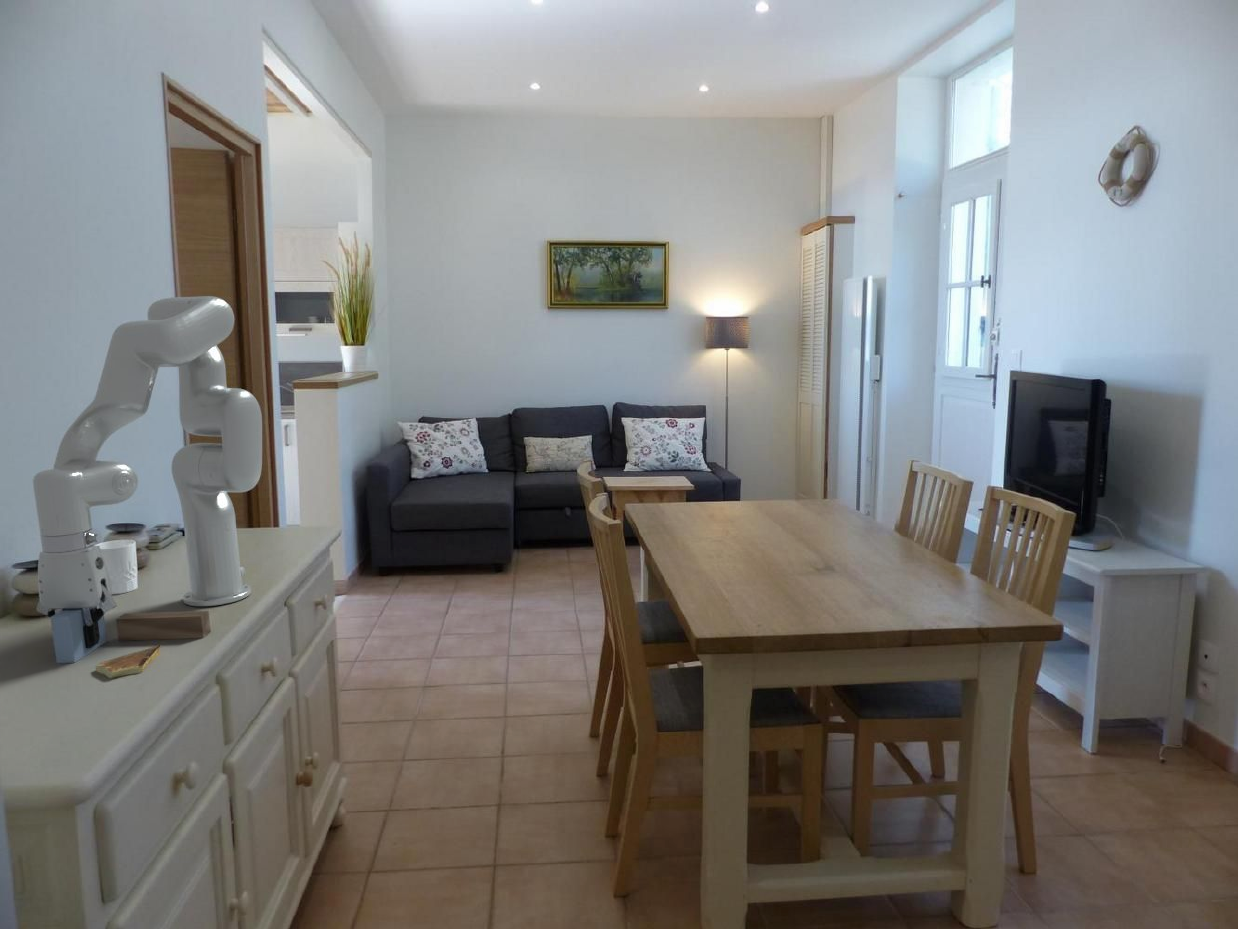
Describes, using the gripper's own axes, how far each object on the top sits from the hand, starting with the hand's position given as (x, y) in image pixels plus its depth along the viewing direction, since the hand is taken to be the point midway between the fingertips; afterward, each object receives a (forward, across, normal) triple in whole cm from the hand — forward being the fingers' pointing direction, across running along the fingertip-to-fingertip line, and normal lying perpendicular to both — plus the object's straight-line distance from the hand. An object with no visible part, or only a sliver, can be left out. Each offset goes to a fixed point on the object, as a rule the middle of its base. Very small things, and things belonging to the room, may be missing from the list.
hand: (81, 645), depth 157 cm
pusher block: (+1, 0, 0) cm, 1 cm away
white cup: (+1, +13, -37) cm, 39 cm away
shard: (+2, -11, +7) cm, 13 cm away
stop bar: (+1, -11, -6) cm, 13 cm away
